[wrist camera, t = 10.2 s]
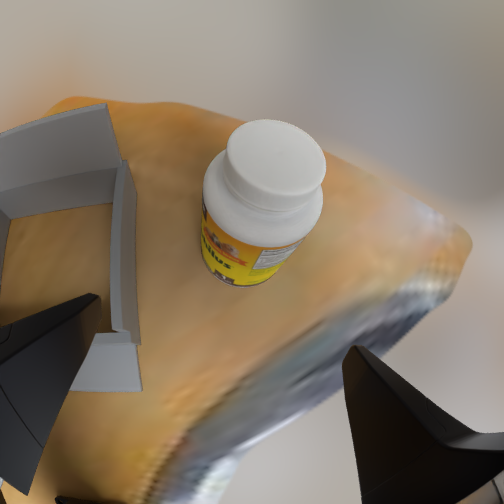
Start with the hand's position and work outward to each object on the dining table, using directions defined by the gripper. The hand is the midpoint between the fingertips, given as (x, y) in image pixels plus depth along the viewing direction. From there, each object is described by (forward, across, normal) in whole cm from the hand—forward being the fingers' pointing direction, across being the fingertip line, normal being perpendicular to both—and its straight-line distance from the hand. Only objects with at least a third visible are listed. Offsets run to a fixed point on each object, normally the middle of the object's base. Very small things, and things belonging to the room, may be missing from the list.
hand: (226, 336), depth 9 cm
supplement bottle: (+11, 0, +1) cm, 11 cm away
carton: (+7, +12, +5) cm, 15 cm away
